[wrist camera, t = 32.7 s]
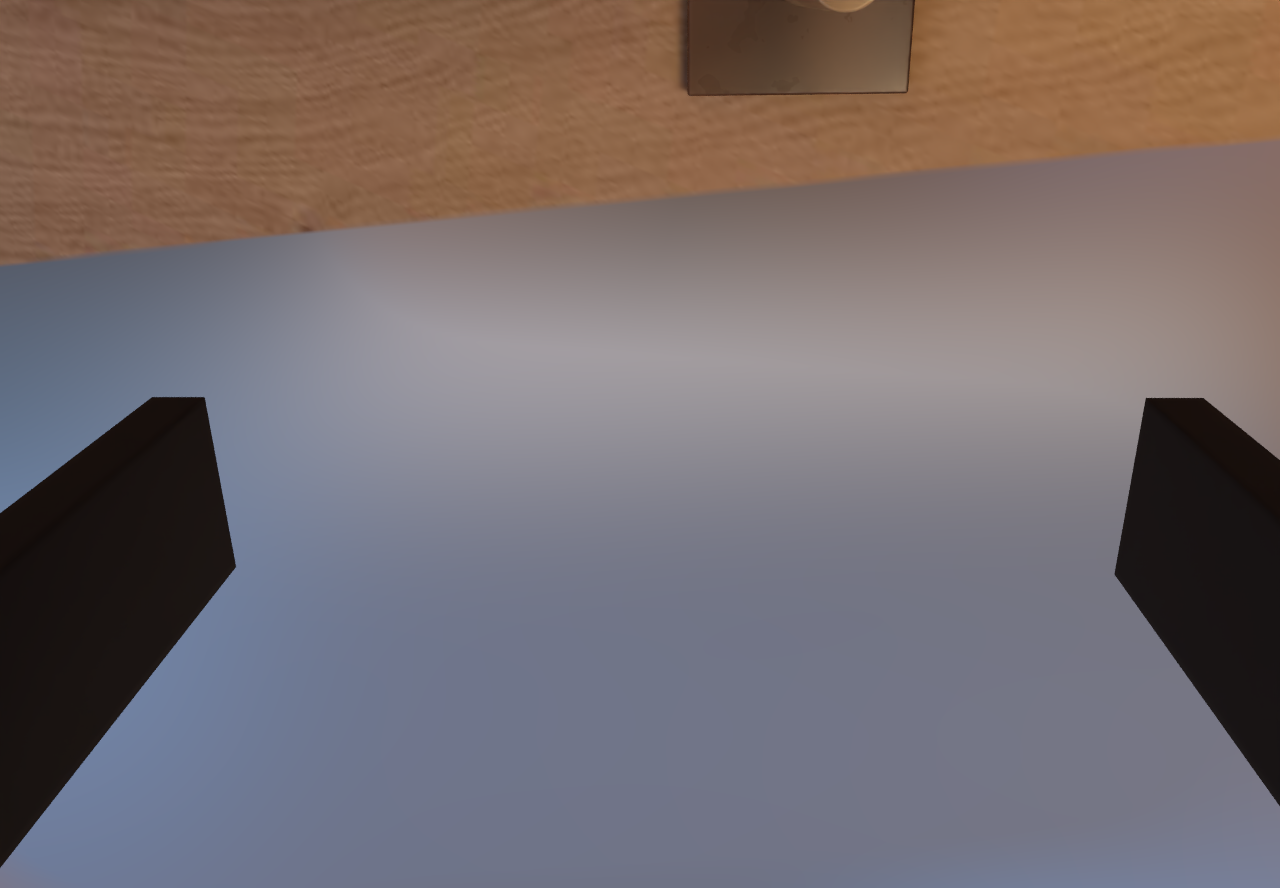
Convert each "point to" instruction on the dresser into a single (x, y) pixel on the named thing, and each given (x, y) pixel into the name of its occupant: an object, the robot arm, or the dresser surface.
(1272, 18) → the dresser surface
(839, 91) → the dowel stand
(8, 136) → the dresser surface
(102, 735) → the robot arm
